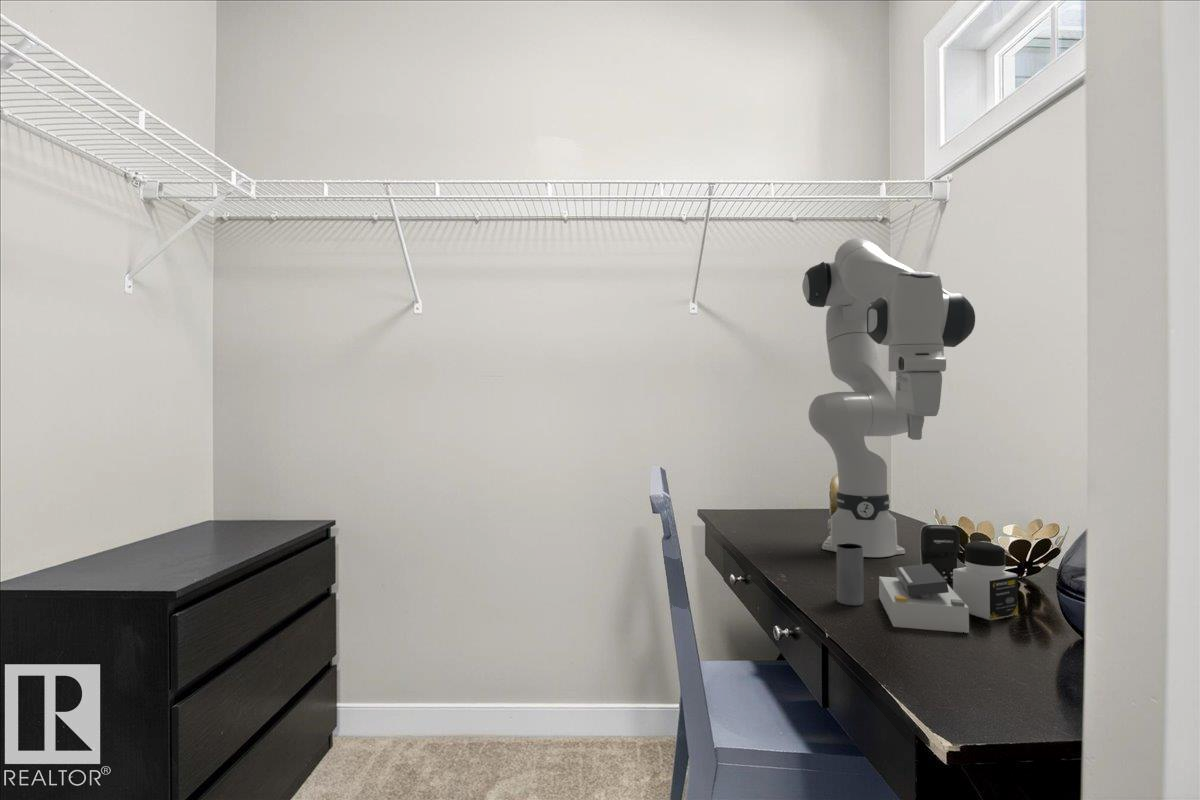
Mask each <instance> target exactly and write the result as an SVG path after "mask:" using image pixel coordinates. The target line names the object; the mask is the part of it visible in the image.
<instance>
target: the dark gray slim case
mask: <svg viewBox="0 0 1200 800" xmlns="http://www.w3.org/2000/svg"><path fill="white" fill-rule="evenodd" d="M894 570H895V574H896V575H895V576H896V578H898V580H899V581H900V583H901V584H902V586H903V588H904V589H905V591H906V592H907V594H908V595H909V596H919V595H928V594H938V593H948V592H949V591H948V586H947V584H948V582H947V581H946V580H945V579H944V578H943V577H942V576H941V575H940V574H939V573H938V571H937V570H936V569H935V568H934V567H933V566H932V565H931V564H921V563H920V564H913V565H906V566H905V565H904V566H895V567H894Z"/></svg>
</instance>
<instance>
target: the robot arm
mask: <svg viewBox="0 0 1200 800" xmlns="http://www.w3.org/2000/svg"><path fill="white" fill-rule="evenodd" d="M801 288H802V293H803V296H804V298H805V300H806V303H808V305H810V307H816V308H824V307H829V308H828V310H827V312H826V316H825V336H826V344H827V352H828V358H829V359H828V360H829V365H830V366H829V367H830V370H831V372H832V374H833V376H834V377H835V378H836V379H838V380H839V381H841V382H844V383H845V384H846V385H848V386H849V387H850V388H851V389H852V391H834V392H828V393H824V394H820V395H819V394H818V395H817V396H816V397H815V398H813V400H812V401H811V403H810V404H809V405H810V406H809V408H808V420H809V423H810V426H811V427H812V429H813V430H814V432H816V433H817V434H818V435H820V436H821V437H822V438H823V439H824V440H825V441H826V442H827V444H828V445H829V446H830V448H831V449H832V452H833V455H834V456H835V461H836V466H837V467H836V468H837V481H838V484H837V485H838V486H837V487H838V491H837V492H836V497H835V500H836V501H835V502H836V507H837V509H836V510H835V512H833V513H832V515H831V516H830V518H828V520H827V529H828V530H829V531H828V537H826V539H825V540H824V542H823V544H822V545H821V548H822V550H824V551H825V550H826V551H830V552H835V553H837V545H838V544H841V543H850V544H857V545H861V546H862V547H863V558H886V557H891V556H896V555H904V554H906V551H905V548H904V547H902V546H901V545H898V535H897V534H898V531H897V530H898V529H897V519H896V517H894V516H893V515H892V514H891V513H890V511H889V510H890V502H891V501H890V495H889V493H888V466H887V463H886V462H885V460H884V459H883V458H882V457H881V456H880V455H878V454H877V453H875V452H873V451H871V450H869V448H868V447H867V445H866V440H865V437H893V436H897V435H902V434H906V433H907V437H908V438H909V439H911V440H913V441H920V440H922V439H923V427H924V422H925V417H936V416H937V415H938V414H939V410H940V407H941V406H940V404H941V397H942V388H943V387H942V385H943V373H942V372H945V371H946V370H947V359H946V357H945V353H944V347H947V348H955V347H957V346H959V345H960V344H961V343H962V342H963V343H964V341H965V340H966V339H967V338H968V337H969V336H971V334H972V332H973V330H974V328H975V324H976V312H975V309H974V307H973V305H972V304H971V302H970V301H969V300H968V299H967V298H966V297H965V296H964V295H962V294H961V293H959V292H958V293H957V292H956V293H952V292H950V291H948V290H946V289H945V288H944V287H943V284H942V280H941V276H940V275H939V274H938V273H936V272H933V271H917V270H916V269H914V268H911V267H909V266H907V265H905V264H903V263H901V262H899V261H897V260H895V259H894V258H892V257H891V256H889V255H888V254H886V252H885V251H883V249H882V248H880V247H879V246H878V245H877V244H875V243H873V242H872V241H869V240H868V239H866V238H860V237H858V238H857V237H856V238H851V239H848V240H846V241H845V242H843V243H842V244H841V245H840V246H839V247H838V248H837V250H836V252H835V255H834V261H832V262H825V261H822V262H820V263H819V264H816V265H813V266H811V267H809V268H808V270H806V272H805V273H804V277H803V280H802V287H801ZM875 343H876V344H878V345H882V346H888V369H887V370H888V372H895V381H896V382H895V385H894V384H893V383H892V382H891V381H890V380H889V378H888V377H887V375H886V374H885V373H884V371H883V369H882V367H881V365H880V361H879V358H878V354H877V349H876V344H875Z"/></svg>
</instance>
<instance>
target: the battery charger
mask: <svg viewBox="0 0 1200 800" xmlns="http://www.w3.org/2000/svg"><path fill="white" fill-rule="evenodd" d="M952 526H953V525H950V524H944V523H943V524H942V523H938V524H937V523H927V524H923V525H922V526H921V527H920V530H919V555H920V556H919V557H920V565H921V564H931V565H932V566H933V567H934V568H935V569H936V570H937V571H938V573H939V574H940V575H941V576H942V577H943V578H944V579H945V580H946V581H947V583H953V570H954V569H957V568H958V553H960V551H961V548H960V547H961V546H960V544H961V543H960V532H959V531H958V530H957V528H955V526H953V527H952Z"/></svg>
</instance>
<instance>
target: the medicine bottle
mask: <svg viewBox="0 0 1200 800" xmlns="http://www.w3.org/2000/svg"><path fill="white" fill-rule="evenodd" d="M964 565H965V566H964V567H959V568H958V567H957V569H954V570H953V582H952V590H953V591H954V592H955V593H956V594H957V595H958V596H959V597H960V598H961V600H962V601H963V602H964V603H965V604H966V605H967V606H968V607H969V615H972V616H974V617H978V618H982V619H984V620H988V621H995V620H1000V619H1006V618H1009V617H1010V616H1011V617H1015V616H1017V615H1018V614H1019V596H1018V594H1019V592H1018V591H1019V589H1018V588H1019V580H1018V574H1017V573H1014V572H1010V571H1006V549H1005V547H1003V546H1002V545H1000V544H998V543H996V542H991V541H985V540H984V541H983V540H982V541H981V540H980V541H979V540H976V541H974V540H973V541H970V542H967V543H966V544H964ZM1014 615H1015V616H1014ZM1005 617H1006V618H1005Z"/></svg>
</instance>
